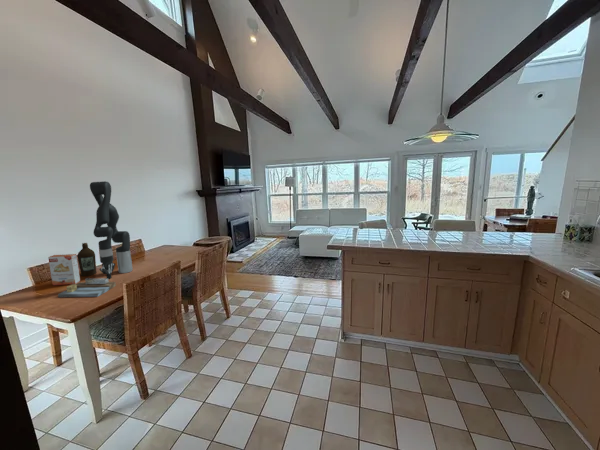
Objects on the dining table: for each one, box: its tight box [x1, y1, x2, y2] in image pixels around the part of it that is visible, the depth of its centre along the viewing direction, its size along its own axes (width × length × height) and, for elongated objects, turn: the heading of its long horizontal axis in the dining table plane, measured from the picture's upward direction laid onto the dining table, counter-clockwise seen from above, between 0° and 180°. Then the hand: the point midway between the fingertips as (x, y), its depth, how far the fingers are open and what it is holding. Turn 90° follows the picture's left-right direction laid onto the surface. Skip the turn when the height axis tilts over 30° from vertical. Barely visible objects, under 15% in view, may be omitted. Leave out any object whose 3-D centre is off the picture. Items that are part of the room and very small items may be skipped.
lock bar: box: [84, 277, 110, 284], centre depth 173 cm, size 14×3×4 cm, turn 93°
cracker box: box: [47, 253, 81, 286], centre depth 179 cm, size 14×6×21 cm, turn 101°
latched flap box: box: [57, 281, 117, 298], centre depth 167 cm, size 17×24×6 cm
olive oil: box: [76, 242, 97, 277], centre depth 198 cm, size 11×11×25 cm
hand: (109, 278), depth 180 cm, fingers closed
